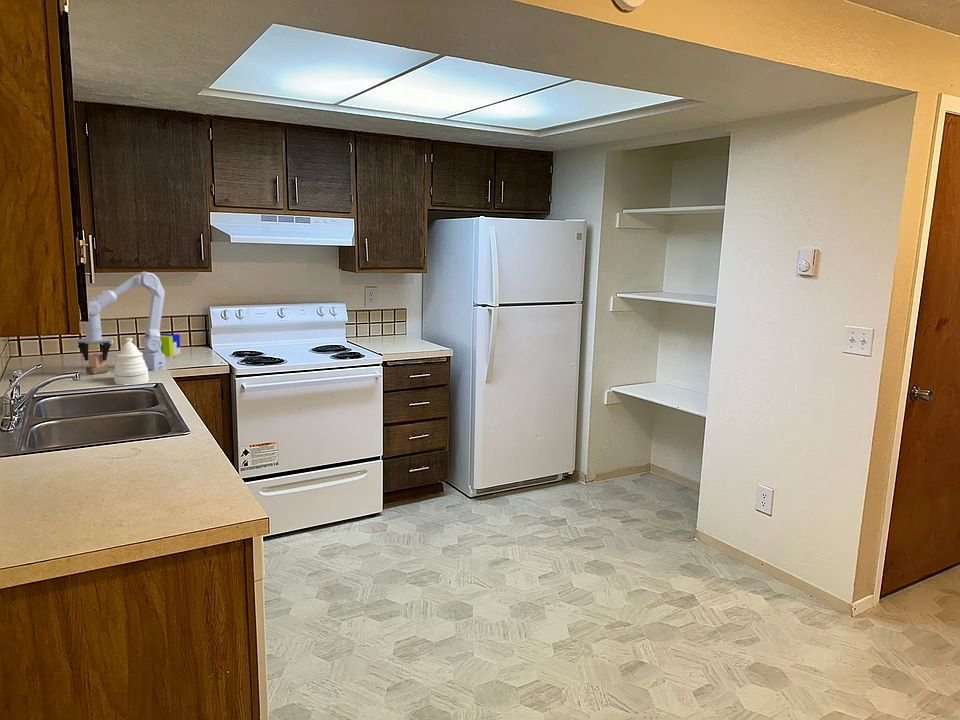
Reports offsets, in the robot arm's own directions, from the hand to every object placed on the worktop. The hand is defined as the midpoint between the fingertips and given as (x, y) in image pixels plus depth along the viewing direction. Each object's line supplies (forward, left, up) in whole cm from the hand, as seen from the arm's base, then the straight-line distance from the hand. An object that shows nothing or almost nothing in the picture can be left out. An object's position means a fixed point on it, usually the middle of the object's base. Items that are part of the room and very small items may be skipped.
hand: (95, 360), depth 290 cm
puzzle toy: (+24, -49, -7) cm, 55 cm away
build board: (+1, -4, -7) cm, 8 cm away
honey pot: (-22, -2, -7) cm, 23 cm away
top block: (0, 0, -3) cm, 3 cm away
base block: (0, 0, -6) cm, 6 cm away
